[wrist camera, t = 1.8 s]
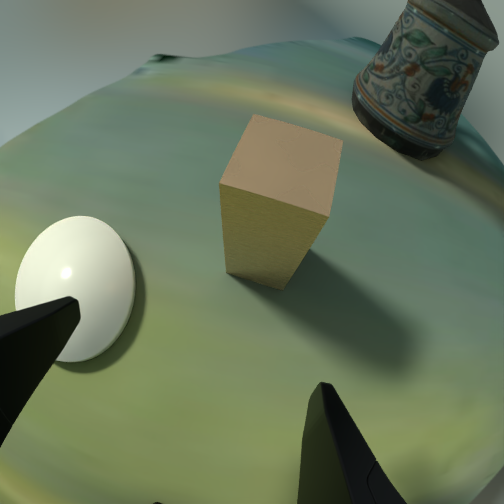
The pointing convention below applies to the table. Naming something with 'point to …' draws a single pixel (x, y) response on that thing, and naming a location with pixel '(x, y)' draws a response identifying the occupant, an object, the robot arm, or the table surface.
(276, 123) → the tan tall block
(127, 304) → the cream plate
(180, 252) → the table surface
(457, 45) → the beer stein
